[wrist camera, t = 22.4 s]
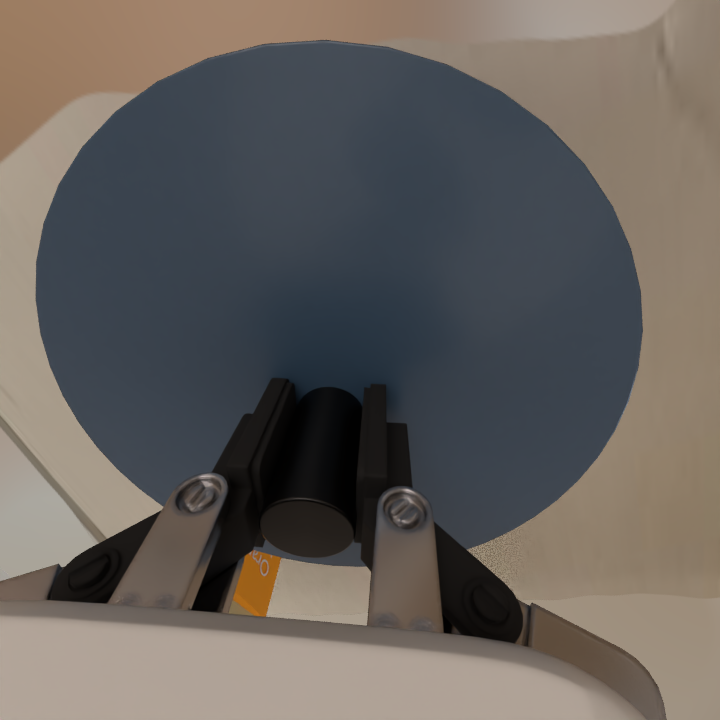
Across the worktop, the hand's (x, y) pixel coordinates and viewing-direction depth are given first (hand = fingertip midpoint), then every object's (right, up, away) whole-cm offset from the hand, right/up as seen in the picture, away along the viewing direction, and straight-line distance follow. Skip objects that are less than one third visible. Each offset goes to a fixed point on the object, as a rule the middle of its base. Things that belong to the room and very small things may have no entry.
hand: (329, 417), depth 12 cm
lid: (0, 0, +1) cm, 1 cm away
